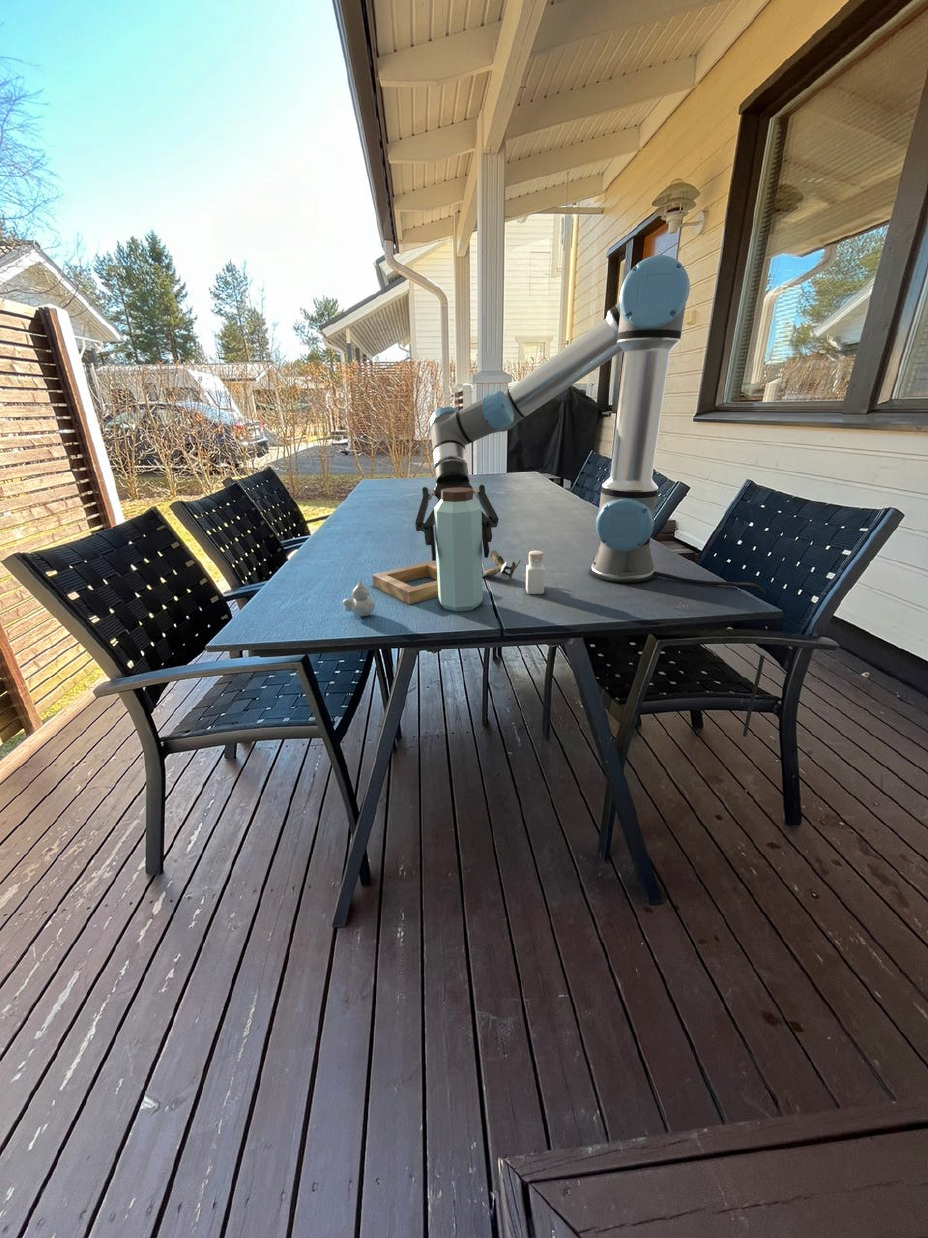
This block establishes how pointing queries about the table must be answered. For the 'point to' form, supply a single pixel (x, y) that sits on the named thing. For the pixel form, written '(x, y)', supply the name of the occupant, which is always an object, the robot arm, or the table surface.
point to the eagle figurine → (500, 566)
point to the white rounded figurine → (360, 601)
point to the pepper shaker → (535, 573)
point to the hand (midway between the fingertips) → (460, 556)
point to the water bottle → (459, 549)
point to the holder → (395, 578)
